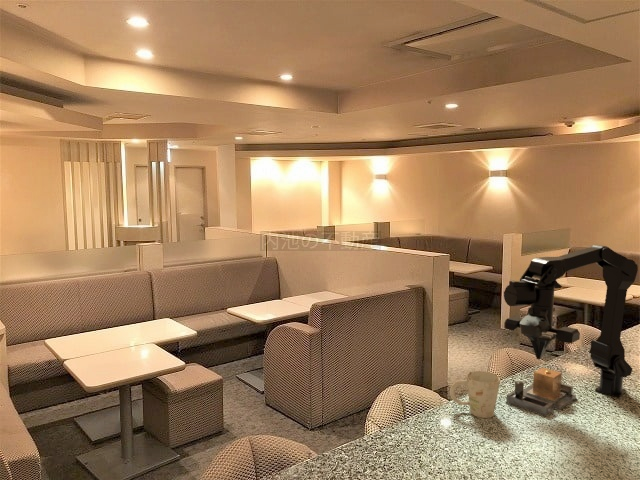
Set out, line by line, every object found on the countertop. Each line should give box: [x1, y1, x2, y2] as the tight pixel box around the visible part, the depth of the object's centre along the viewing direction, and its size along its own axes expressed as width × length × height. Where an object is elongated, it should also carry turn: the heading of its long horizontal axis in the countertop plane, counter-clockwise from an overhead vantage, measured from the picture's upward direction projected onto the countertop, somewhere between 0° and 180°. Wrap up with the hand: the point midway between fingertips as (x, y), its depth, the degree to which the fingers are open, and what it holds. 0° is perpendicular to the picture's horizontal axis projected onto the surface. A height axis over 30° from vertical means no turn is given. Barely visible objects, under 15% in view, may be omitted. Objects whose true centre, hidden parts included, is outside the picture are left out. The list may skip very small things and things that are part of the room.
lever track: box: [505, 390, 554, 417], centre depth 136 cm, size 4×11×2 cm, turn 43°
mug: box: [449, 370, 501, 419], centre depth 132 cm, size 8×13×10 cm, turn 78°
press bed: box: [523, 382, 577, 411], centre depth 142 cm, size 11×12×3 cm
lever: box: [512, 380, 525, 400], centre depth 138 cm, size 2×3×5 cm
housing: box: [532, 367, 563, 399], centre depth 142 cm, size 6×6×6 cm
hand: (538, 358), depth 139 cm, fingers closed
